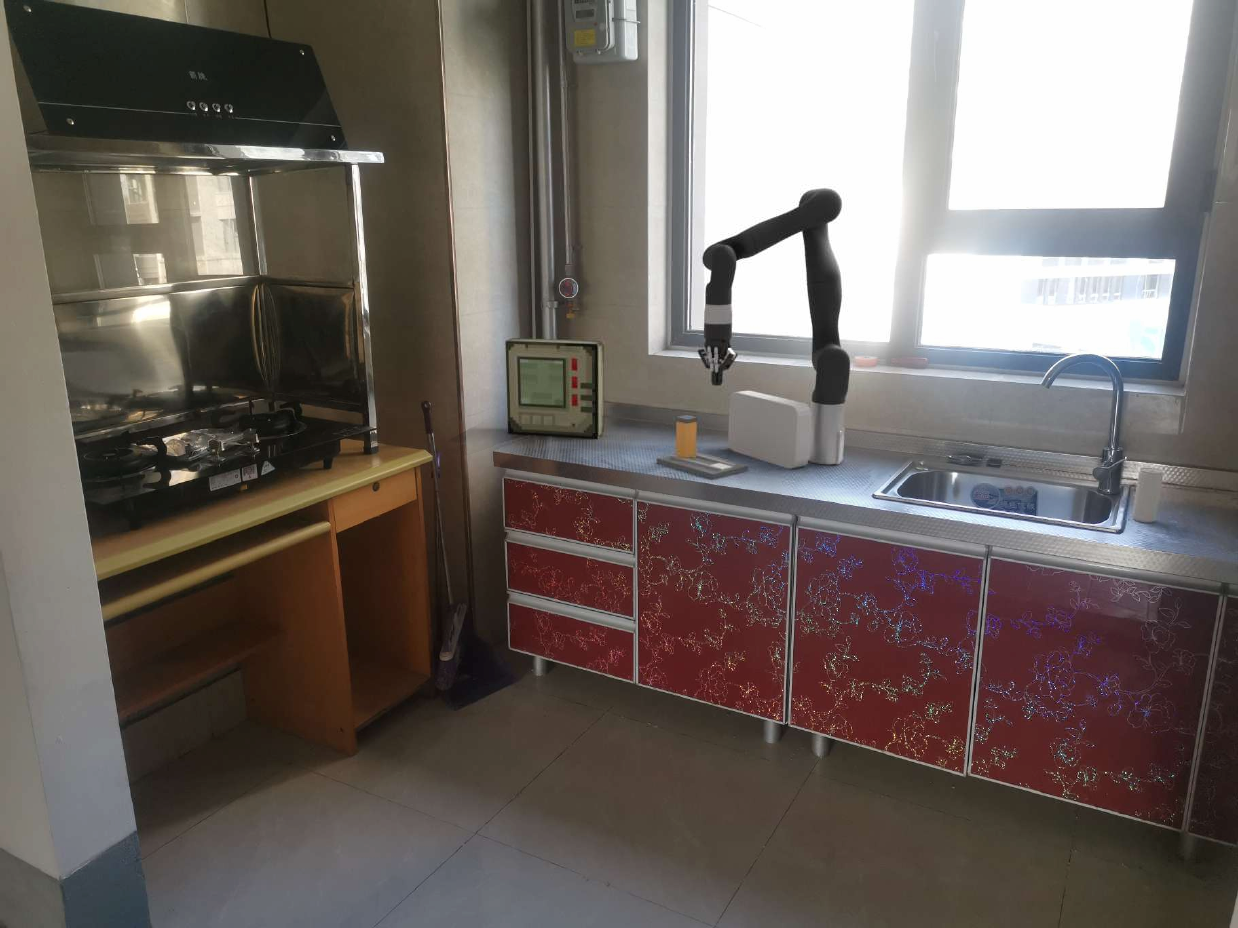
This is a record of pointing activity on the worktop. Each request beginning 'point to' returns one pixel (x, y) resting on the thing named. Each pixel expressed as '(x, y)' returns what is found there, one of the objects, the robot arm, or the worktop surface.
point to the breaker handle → (686, 436)
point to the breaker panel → (703, 465)
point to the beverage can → (1147, 494)
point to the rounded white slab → (769, 428)
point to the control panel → (555, 387)
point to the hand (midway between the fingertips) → (716, 385)
